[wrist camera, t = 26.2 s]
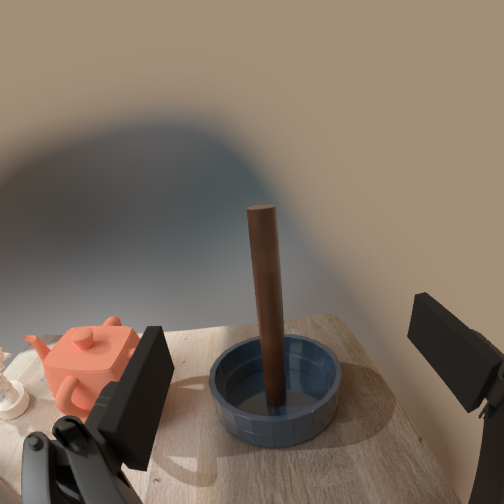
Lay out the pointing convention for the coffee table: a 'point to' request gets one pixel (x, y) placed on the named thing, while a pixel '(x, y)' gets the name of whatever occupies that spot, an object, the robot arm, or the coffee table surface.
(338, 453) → the coffee table surface
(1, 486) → the beverage can
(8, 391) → the character figurine
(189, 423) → the coffee table surface
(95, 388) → the teapot
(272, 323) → the stirring stick
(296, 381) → the bowl
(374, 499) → the coffee table surface
